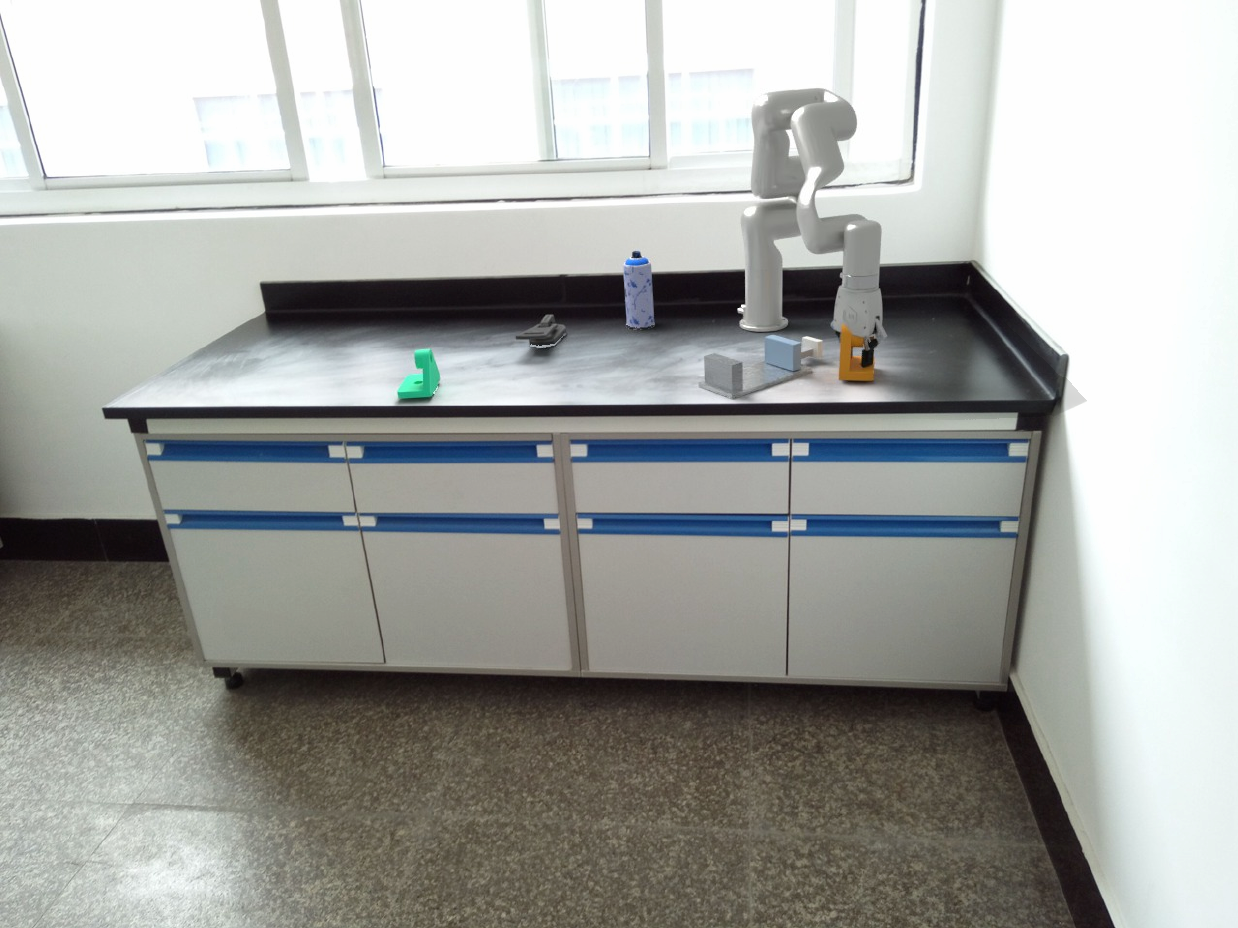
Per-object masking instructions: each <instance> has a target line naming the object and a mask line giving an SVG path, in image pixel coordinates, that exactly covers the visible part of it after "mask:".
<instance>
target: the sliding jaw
mask: <svg viewBox="0 0 1238 928" xmlns="http://www.w3.org/2000/svg"><path fill="white" fill-rule="evenodd" d="M823 345H824V340H822V339H818V338H815V337H811V336H803V337H802V338H801V342H800V341H796V340H793V339H789V338H785V337H783V336H778V335H775V334H771V335H767V336H764V361H765V362H766V363H769V364H772V365H775V366H778V367H781V368H784V369H788V370H791V371H795V370H798V369H801V364H802V360H803V359H805V358H809V357H810V358H814V359H818V360H819V359H822V358H823V350H824V349H823Z"/></svg>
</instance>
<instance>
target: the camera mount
mask: <svg viewBox="0 0 1238 928" xmlns="http://www.w3.org/2000/svg"><path fill="white" fill-rule="evenodd" d="M413 359H414V364H415V368H416V369H417V370H422V373H418V374H417V373H415V374H409V375H406V376H405V378H404V379H403V381H402V383H400V386H399V387H398V389H397V397H398V399H400V398H402V399H414V398H415V399H416V398H431V397H432V396H433V395H432V394H433V392H434V391H435V390H436V388H437V386H438V387H439V385H438V384H439V382H440V381H441V376H440V375H441V374H440V370H439V368H438V365H437V362H436V359H435V356H434V353H433V350H432V348H424V349H423V348H421V349H415V350H414V358H413Z"/></svg>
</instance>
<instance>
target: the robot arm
mask: <svg viewBox="0 0 1238 928" xmlns="http://www.w3.org/2000/svg"><path fill="white" fill-rule="evenodd" d="M750 114H751V118H750V119H751V127H752V133H753V152H752V163H751V174H750V190H751V193H752V195H753V196H754V197H755V198H758V199H760V200H771V201H763V202H761V201H760V202H757V203H756V202H755V203H753V204H750V205H749V206H747V207H745V209H744V210H743V211H742V212H741V215H740V216H741V217H740V227H741V233H742V238H743V245H744V246H743V248H744V271H745V272H744V277H745V279H744V284H745V285H744V287H745V295H744V296H745V297H744V299H745V303H744V304H741V306H740V307H739V308H737V313H738V314H741V315H742V318H741V320H739V328H741V329H743V330H745V331H750V332H757V333H758V332H759V333H760V332H761V333H764V332H775V331H780V330H782V329H785V328H787V326H788V325H789V320H788V318H786V317H784V316H783V256H782V253H781V252H780V250H779V249H778V247H777V246H776V244H775V243H774V241H778V240H783V239H793V238H797V237H800V236H801V238H802V242H803V244H804V246H805V248H806V249H807V250H808V251H809V252H810V253H812V254H815V255H825V254H832V253H839V252H842V253H843V254H842V272H840V274H839V278H840V279H842V281H841V285H839V286H838V288H837V293H836V296H835V297H836V298H835V303H834V311H833V320H832V321H831V322H830V327H831V328H832V329H833V331H834V332H835V335H836V337H837V338H838V343H839V344H841V327H842V324H843V325H845V326H846V327H847V328H848V329H849V330H850V331H851V333H852V335H854V336H857V337H861V338H863V349H861V356H862V358H861V366H862V367H863V368H865V367H868V366H871V365H873V360H874V357H875V349H876V348H877V347H878V346H879V345H880V344H881V343H882V342H884V340H886V339H888V335H887V333H886V331H885V328H884V327H883V299H882V292H881V288H879V287H880V286H879V283H880V266H881V249H882V233H883V232H882V230H883V229H882V226H881V224H880V223H879V222H878V221H875V220H870V219H869V220H868V219H867V218H866V217H865V216H864V215H862V214H858V213H849V214H843V215H841V214H840V215H833V216H826V217H819V215H818V211H817V207H816V201H815V200H816V193H817V191H819V190H820V189H822V188H823V187H825V186H827V185H829V184H831V183H832V182H833V181H835V180H836V179H838V178H839V177H840V176H841V175H842V173H843V172H844V169H845V162H844V160H843V157H842V153H841V149H840V146H839V144H838V143H839V142H844V141H845V142H846V141H847V140H850V139H852V138H853V136H854V135H855V133H856V131H857V129H858V118H857V113H856V111H855V109H854V107H853V106H852V104H851V103H850V102H849V101H848V100H847V99H845V98H844V97H841V96H840V95H837V94H836V93H834V92H832V91H831V90H828V89H826V88H821V87H813V88H812V87H810V88H801V89H787V90H786V89H785V90H778V91H777V90H775V91H770V92H765V93H763V94H760V95H759V96H757V98H756V99H755V101H754V103H753V104H752V109H751V113H750ZM788 130H789V131H790V130H791V132H792V136H793V139H794V144H795V146H796V149H797V153H798V154H797V155H790V147H791V141H790V140H791V139H790V136H789V134H788V132H787V131H788ZM789 155H790V156H789ZM782 198H786V199H782ZM772 199H774V200H772ZM775 199H778V200H775ZM853 351H854V347H852V350H851V359H852V356H854V355H853Z"/></svg>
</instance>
